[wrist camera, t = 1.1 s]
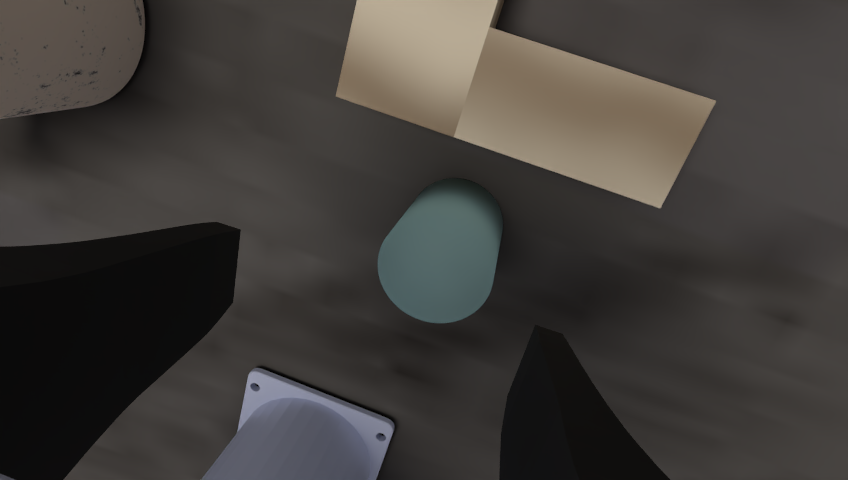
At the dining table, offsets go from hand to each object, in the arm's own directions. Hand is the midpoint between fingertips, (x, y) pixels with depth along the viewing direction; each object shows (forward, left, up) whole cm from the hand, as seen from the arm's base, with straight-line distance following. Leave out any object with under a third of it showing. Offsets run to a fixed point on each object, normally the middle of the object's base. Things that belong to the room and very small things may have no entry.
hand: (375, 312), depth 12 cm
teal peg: (-1, -1, -11) cm, 11 cm away
